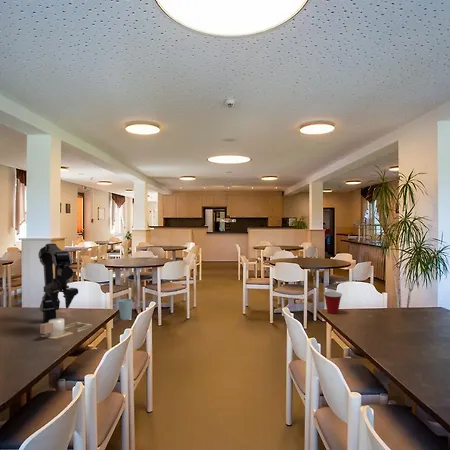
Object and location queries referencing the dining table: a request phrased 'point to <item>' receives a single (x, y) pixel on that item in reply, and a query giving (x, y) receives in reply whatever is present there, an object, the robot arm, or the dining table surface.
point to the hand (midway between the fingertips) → (60, 307)
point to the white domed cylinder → (53, 327)
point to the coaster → (57, 336)
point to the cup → (125, 308)
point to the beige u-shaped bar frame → (84, 325)
